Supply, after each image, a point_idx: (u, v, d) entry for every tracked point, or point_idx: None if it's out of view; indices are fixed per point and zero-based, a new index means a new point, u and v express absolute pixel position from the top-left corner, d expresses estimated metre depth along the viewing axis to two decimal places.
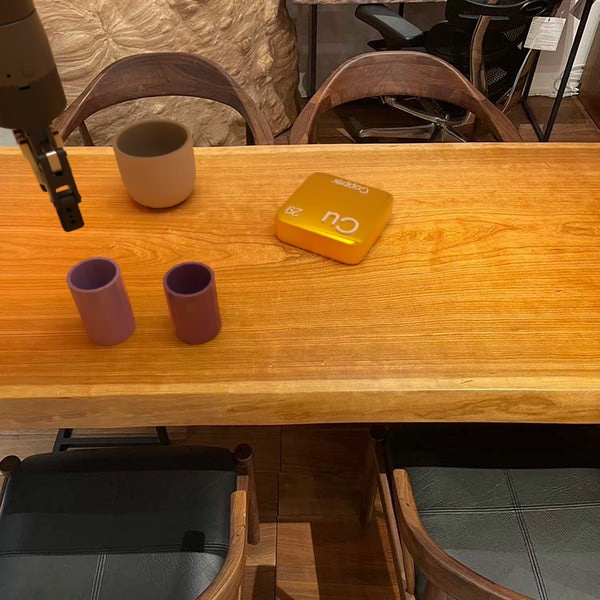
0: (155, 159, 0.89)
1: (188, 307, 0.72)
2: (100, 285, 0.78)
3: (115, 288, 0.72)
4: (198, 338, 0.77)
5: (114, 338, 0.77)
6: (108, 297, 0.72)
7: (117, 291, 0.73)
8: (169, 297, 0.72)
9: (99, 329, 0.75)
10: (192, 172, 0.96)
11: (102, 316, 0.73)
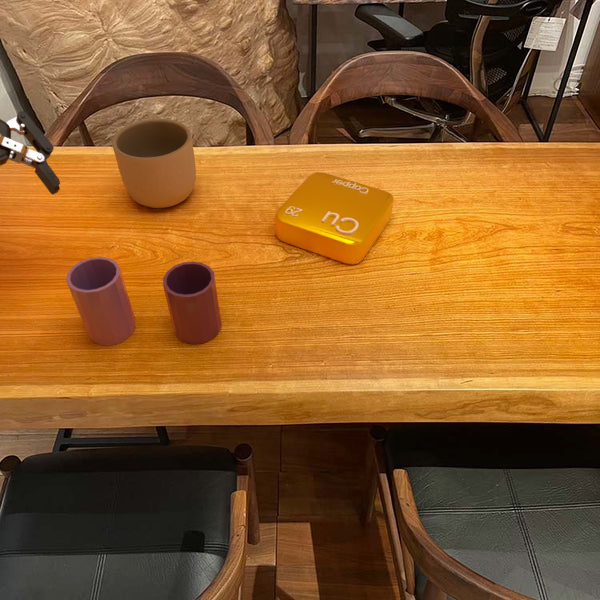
0: (155, 159, 0.89)
1: (188, 307, 0.72)
2: (100, 285, 0.78)
3: (115, 288, 0.72)
4: (198, 338, 0.77)
5: (114, 338, 0.77)
6: (108, 297, 0.72)
7: (117, 291, 0.73)
8: (169, 297, 0.72)
9: (99, 329, 0.75)
10: (192, 172, 0.96)
11: (102, 316, 0.73)
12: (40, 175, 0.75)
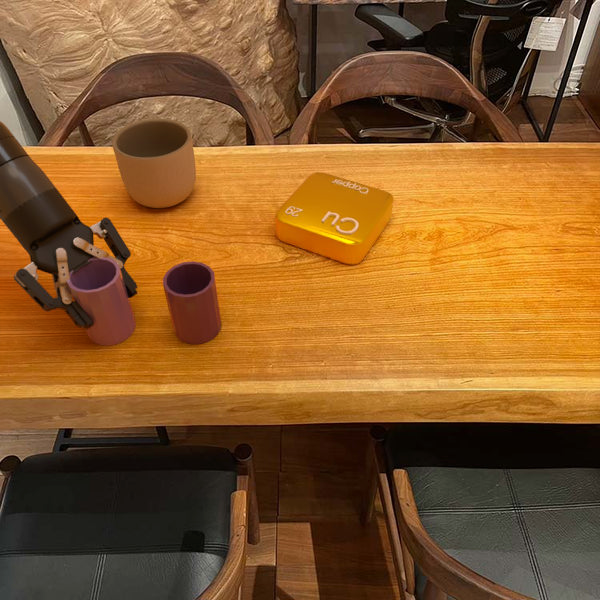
0: (155, 159, 0.89)
1: (188, 307, 0.72)
2: (100, 285, 0.78)
3: (115, 288, 0.72)
4: (198, 338, 0.77)
5: (114, 338, 0.77)
6: (108, 297, 0.72)
7: (117, 291, 0.73)
8: (169, 297, 0.72)
9: (99, 329, 0.75)
10: (192, 172, 0.96)
11: (102, 316, 0.73)
12: None
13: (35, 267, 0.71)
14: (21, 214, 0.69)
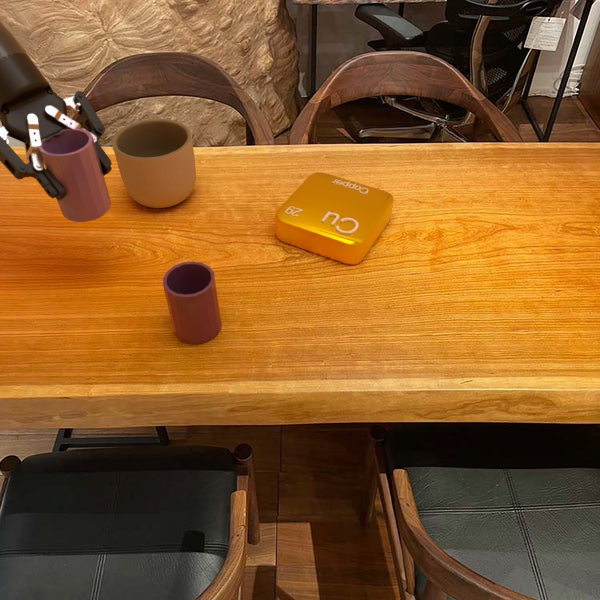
0: (155, 159, 0.89)
1: (188, 307, 0.72)
2: None
3: (87, 155, 0.71)
4: (198, 338, 0.77)
5: (88, 214, 0.76)
6: (80, 164, 0.71)
7: (89, 159, 0.72)
8: (169, 297, 0.72)
9: (72, 202, 0.74)
10: (192, 172, 0.96)
11: (74, 185, 0.73)
12: None
13: (6, 132, 0.70)
14: None
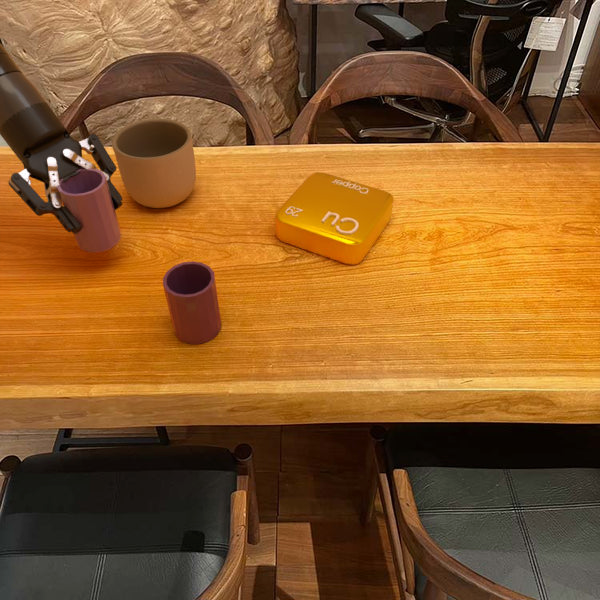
0: (155, 159, 0.89)
1: (188, 307, 0.72)
2: None
3: (101, 194, 0.79)
4: (198, 338, 0.77)
5: (101, 245, 0.84)
6: (95, 202, 0.79)
7: (103, 197, 0.80)
8: (169, 297, 0.72)
9: (87, 235, 0.82)
10: (192, 172, 0.96)
11: (89, 221, 0.80)
12: None
13: (28, 173, 0.78)
14: (15, 123, 0.76)
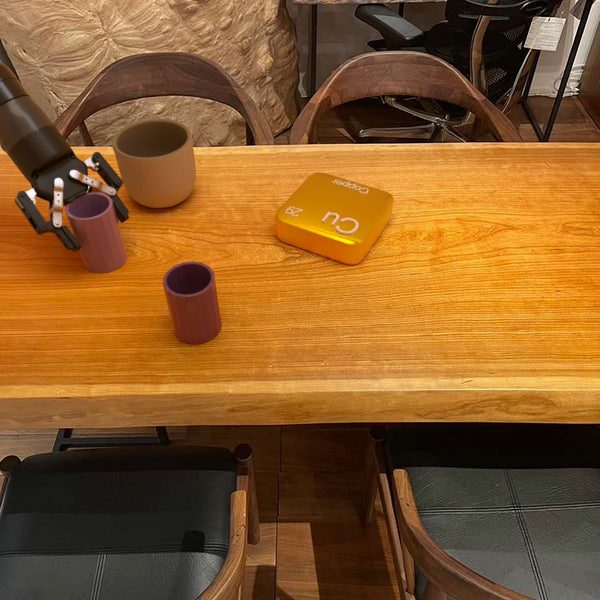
0: (155, 159, 0.89)
1: (188, 307, 0.72)
2: None
3: (108, 218, 0.82)
4: (198, 338, 0.77)
5: (107, 266, 0.86)
6: (102, 226, 0.82)
7: (110, 221, 0.82)
8: (169, 297, 0.72)
9: (94, 256, 0.85)
10: (192, 172, 0.96)
11: (96, 243, 0.83)
12: None
13: (36, 194, 0.80)
14: (23, 145, 0.78)
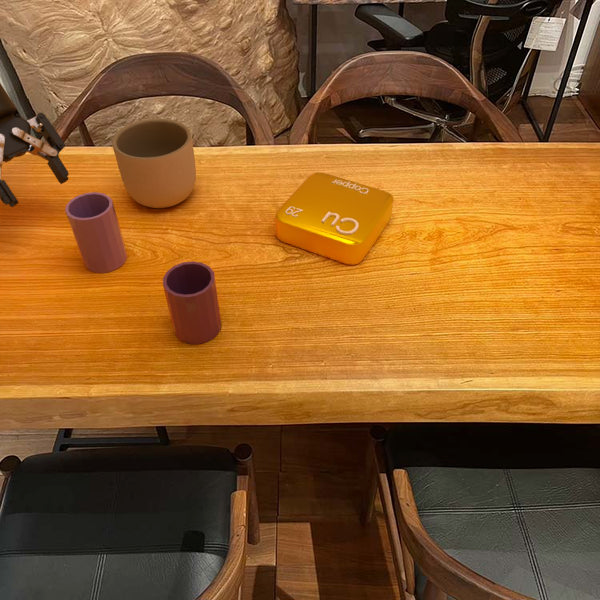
0: (155, 159, 0.89)
1: (188, 307, 0.72)
2: None
3: (108, 218, 0.82)
4: (198, 338, 0.77)
5: (107, 266, 0.86)
6: (102, 226, 0.82)
7: (110, 221, 0.82)
8: (169, 297, 0.72)
9: (94, 256, 0.85)
10: (192, 172, 0.96)
11: (96, 243, 0.83)
12: (52, 167, 0.90)
13: None
14: None
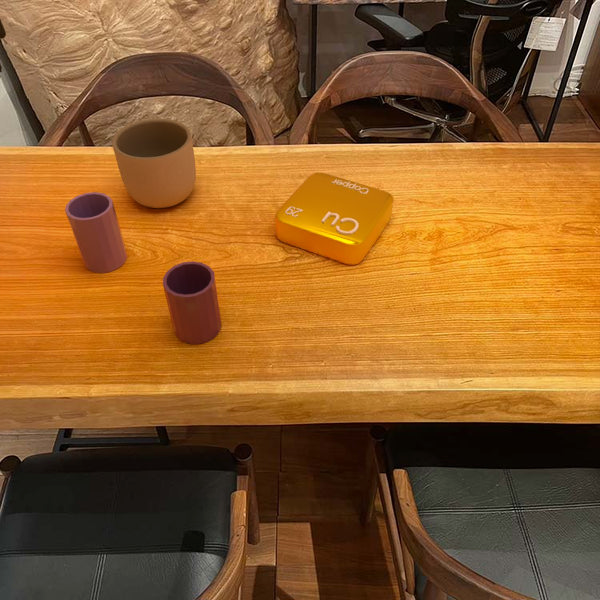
0: (155, 159, 0.89)
1: (188, 307, 0.72)
2: None
3: (108, 218, 0.82)
4: (198, 338, 0.77)
5: (107, 266, 0.86)
6: (102, 226, 0.82)
7: (110, 221, 0.82)
8: (169, 297, 0.72)
9: (94, 256, 0.85)
10: (192, 172, 0.96)
11: (96, 243, 0.83)
12: None
13: None
14: None
